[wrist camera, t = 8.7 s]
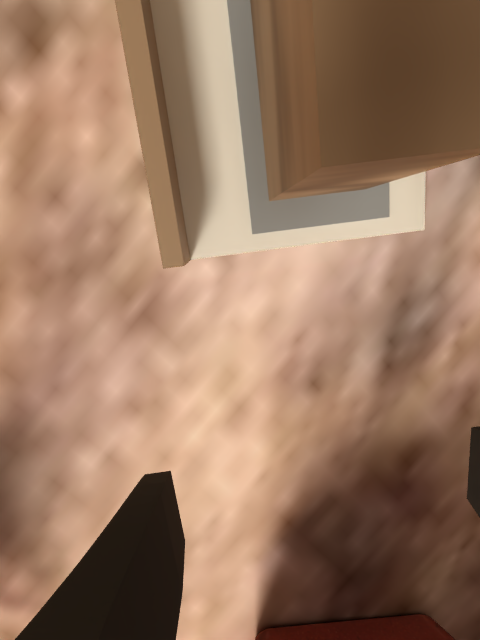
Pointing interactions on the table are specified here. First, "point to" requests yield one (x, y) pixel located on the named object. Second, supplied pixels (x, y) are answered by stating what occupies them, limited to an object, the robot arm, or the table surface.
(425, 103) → the brown slab
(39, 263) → the table surface
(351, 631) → the plant pot
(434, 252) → the table surface
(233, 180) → the tan rimmed flat piece
